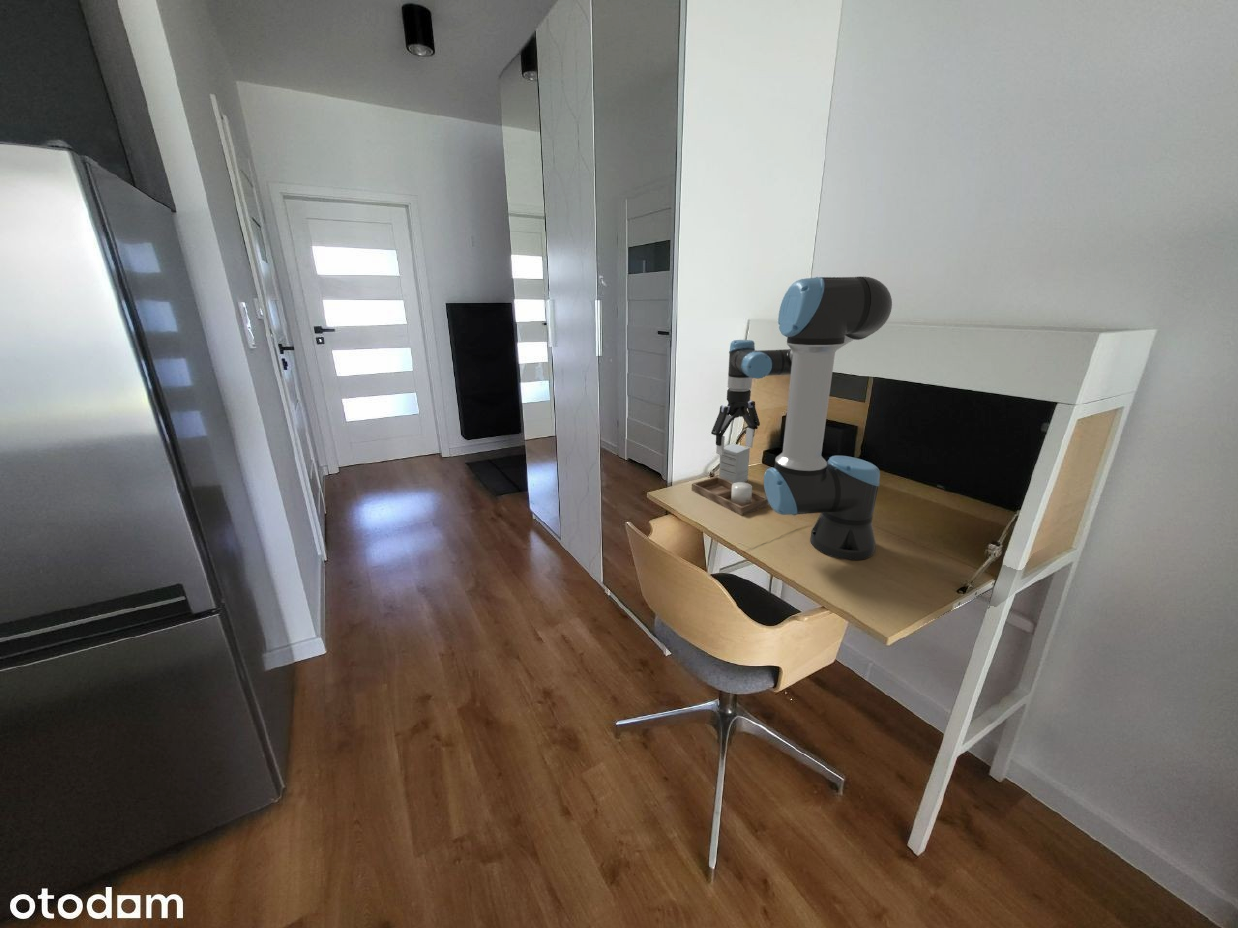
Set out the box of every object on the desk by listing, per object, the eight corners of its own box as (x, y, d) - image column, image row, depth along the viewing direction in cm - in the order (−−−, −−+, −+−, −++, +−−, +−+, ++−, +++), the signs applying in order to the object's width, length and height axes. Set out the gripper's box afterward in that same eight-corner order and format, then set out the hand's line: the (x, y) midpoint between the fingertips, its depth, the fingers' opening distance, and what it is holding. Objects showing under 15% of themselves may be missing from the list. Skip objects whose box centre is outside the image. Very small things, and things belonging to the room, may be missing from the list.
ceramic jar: (754, 504, 141) (756, 486, 139) (740, 509, 138) (742, 491, 136) (740, 498, 146) (741, 480, 144) (726, 502, 143) (727, 485, 141)
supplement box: (730, 476, 165) (732, 442, 161) (748, 481, 160) (750, 447, 155) (717, 481, 161) (719, 447, 156) (735, 487, 155) (737, 452, 151)
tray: (768, 507, 140) (768, 498, 139) (740, 517, 135) (741, 508, 134) (717, 484, 158) (717, 476, 157) (691, 492, 153) (691, 483, 152)
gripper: (757, 382, 158) (752, 440, 166) (702, 392, 146) (699, 454, 154) (774, 386, 152) (768, 446, 160) (718, 396, 140) (714, 460, 148)
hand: (734, 450), depth 157 cm, fingers open, 13 cm apart
